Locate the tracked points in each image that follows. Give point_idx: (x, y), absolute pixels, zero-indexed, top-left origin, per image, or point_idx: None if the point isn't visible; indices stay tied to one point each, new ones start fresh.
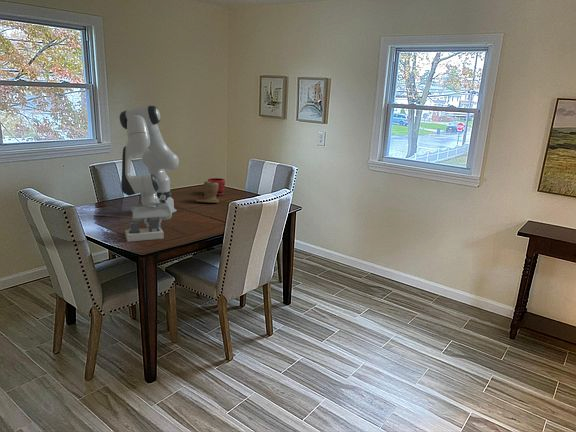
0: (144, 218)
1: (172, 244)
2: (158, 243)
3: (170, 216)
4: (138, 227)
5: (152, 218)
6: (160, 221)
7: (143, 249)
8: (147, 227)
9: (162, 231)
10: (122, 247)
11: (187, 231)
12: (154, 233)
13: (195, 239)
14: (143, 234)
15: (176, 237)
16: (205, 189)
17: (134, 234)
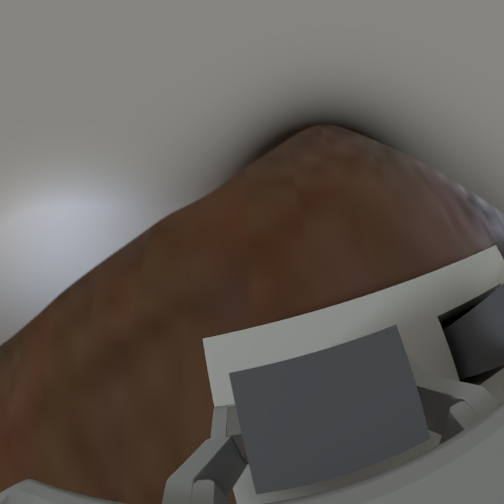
0: (502, 405)
1: (170, 229)
2: (261, 243)
3: (32, 479)
4: (481, 302)
5: (361, 444)
6: (203, 452)
7: (337, 158)
8: None
9: (214, 367)
10: (451, 185)
11: (59, 476)
12: (299, 317)
13: (45, 310)
14: (400, 285)
15: (125, 369)
16: None
17: (463, 262)
